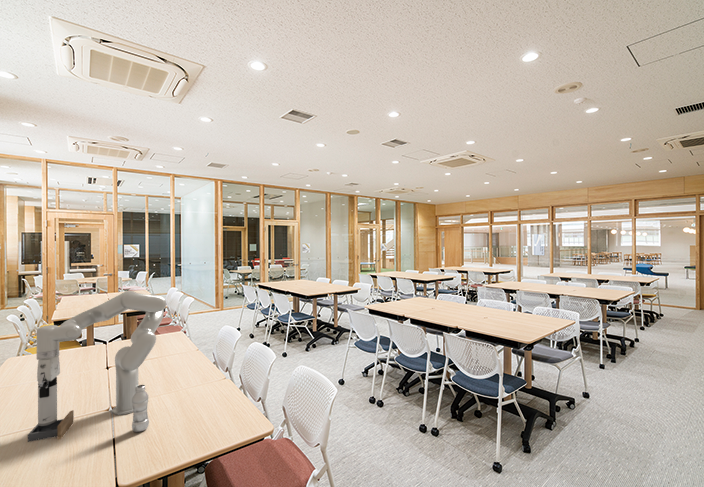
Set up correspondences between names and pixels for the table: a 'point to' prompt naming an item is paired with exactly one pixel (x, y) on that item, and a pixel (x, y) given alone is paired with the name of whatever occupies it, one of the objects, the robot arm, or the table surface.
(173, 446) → the table surface
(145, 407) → the plastic bottle
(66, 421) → the board
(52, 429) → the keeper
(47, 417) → the travel mug
